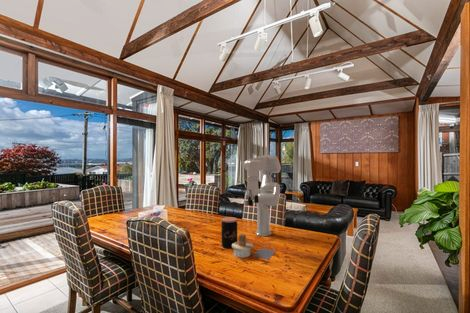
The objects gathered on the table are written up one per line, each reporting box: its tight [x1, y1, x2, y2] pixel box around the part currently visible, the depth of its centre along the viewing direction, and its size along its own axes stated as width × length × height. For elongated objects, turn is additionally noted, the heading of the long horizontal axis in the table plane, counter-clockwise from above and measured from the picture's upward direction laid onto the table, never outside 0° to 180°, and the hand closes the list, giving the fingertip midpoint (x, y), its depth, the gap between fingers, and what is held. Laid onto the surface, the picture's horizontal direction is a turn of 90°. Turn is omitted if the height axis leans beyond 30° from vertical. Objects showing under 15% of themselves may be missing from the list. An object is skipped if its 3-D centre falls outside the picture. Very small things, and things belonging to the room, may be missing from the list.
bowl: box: [233, 249, 251, 258], centre depth 138 cm, size 10×10×5 cm
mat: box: [252, 247, 277, 260], centre depth 139 cm, size 14×10×1 cm
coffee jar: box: [221, 216, 238, 249], centre depth 153 cm, size 11×11×18 cm
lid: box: [231, 233, 254, 251], centre depth 138 cm, size 13×13×7 cm
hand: (253, 204), depth 154 cm, fingers open, 9 cm apart
